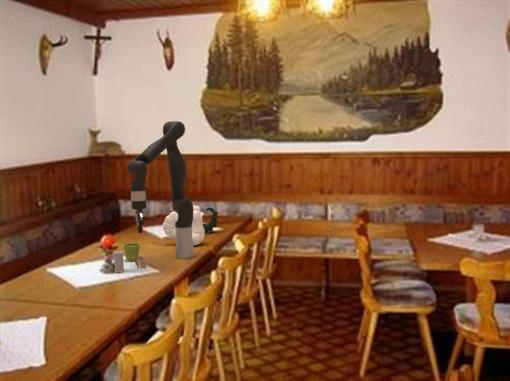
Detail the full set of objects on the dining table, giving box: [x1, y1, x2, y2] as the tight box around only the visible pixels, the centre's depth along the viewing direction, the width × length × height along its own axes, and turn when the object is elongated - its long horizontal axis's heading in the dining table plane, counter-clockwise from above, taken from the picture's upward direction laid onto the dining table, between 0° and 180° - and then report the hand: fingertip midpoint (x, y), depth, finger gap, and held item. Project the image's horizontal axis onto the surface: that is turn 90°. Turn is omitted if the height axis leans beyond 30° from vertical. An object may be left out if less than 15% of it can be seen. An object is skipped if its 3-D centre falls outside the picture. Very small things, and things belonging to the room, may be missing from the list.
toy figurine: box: [202, 207, 219, 235], centre depth 373 cm, size 9×19×25 cm
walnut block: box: [134, 255, 147, 269], centre depth 287 cm, size 4×4×10 cm
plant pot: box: [122, 242, 141, 262], centre depth 299 cm, size 9×9×9 cm
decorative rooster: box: [162, 204, 206, 246], centre depth 336 cm, size 25×16×25 cm, turn 80°
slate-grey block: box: [113, 250, 125, 273], centre depth 275 cm, size 4×4×10 cm
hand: (140, 232), depth 283 cm, fingers closed
